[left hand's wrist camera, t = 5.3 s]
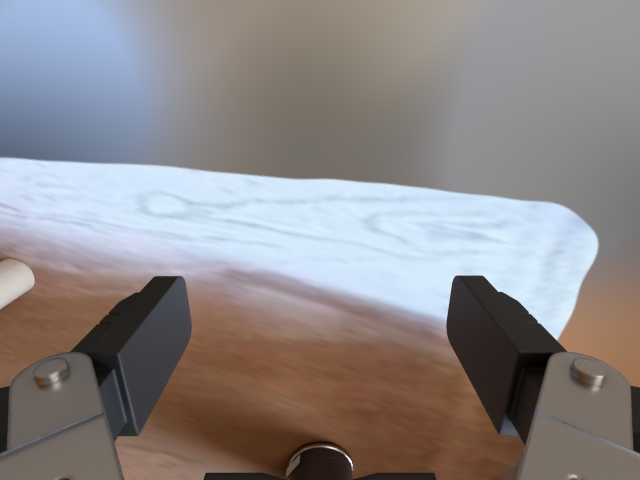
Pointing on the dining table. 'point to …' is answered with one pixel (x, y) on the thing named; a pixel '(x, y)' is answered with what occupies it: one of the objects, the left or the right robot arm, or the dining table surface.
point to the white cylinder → (14, 280)
